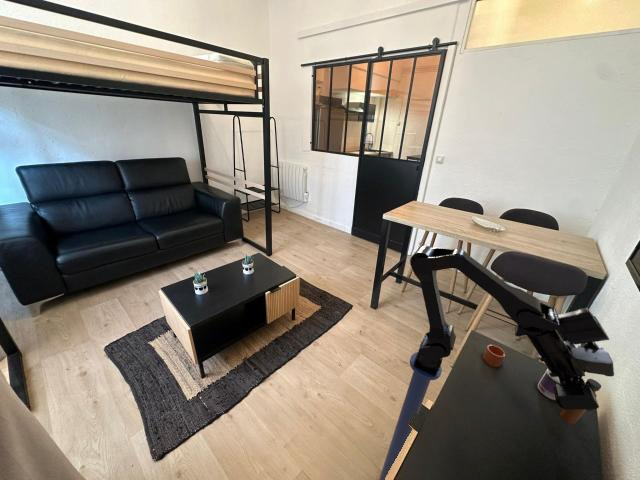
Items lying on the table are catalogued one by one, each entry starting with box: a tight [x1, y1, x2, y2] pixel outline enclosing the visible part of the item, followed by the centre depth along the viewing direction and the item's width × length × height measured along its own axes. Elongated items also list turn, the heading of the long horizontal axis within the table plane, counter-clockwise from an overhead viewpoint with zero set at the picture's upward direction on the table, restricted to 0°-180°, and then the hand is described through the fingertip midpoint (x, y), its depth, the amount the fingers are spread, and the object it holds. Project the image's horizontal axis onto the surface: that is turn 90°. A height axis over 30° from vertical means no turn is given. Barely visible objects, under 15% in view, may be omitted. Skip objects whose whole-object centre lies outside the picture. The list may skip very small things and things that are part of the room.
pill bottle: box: [537, 368, 560, 401], centre depth 73 cm, size 5×5×10 cm
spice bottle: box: [560, 378, 602, 426], centre depth 59 cm, size 3×3×13 cm
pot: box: [482, 344, 506, 368], centre depth 83 cm, size 5×5×4 cm
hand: (588, 404), depth 58 cm, fingers closed on spice bottle, 3 cm apart
